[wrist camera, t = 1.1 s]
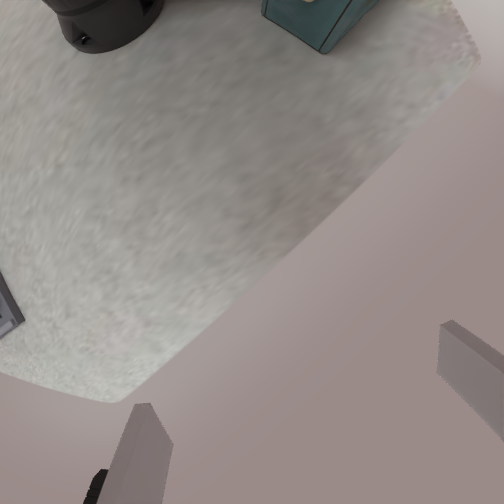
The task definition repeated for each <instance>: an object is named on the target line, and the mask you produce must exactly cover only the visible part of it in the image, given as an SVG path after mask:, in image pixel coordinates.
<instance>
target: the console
mask: <svg viewBox="0 0 504 504" xmlns="http://www.w3.org/2000/svg"><path fill="white" fill-rule="evenodd" d="M23 321H25V319H24V317H23V315H22V314H21V312H20V310H19V308H18V307H17V305H16V303H15V301H14V299H13V297H12V295H11V293H10V291H9V289H8V287H7V285H6V283H5V281H4V279H3V277H2V275H1V273H0V338H1V337H2V336H4V335H5V334H6V333H8V332H9V331H11V330H12V329H13V328H15V327H16V326H18V325H19V324H20V323H22V322H23Z"/></svg>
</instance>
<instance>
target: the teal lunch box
mask: <svg viewBox="0 0 504 504" xmlns="http://www.w3.org/2000/svg"><path fill="white" fill-rule="evenodd" d="M378 1H379V0H263V2H262V8H261V13H262V15H263V16H266V17H267V18H268V19H270V20H272V21H273V22H275V23H277V24H278V25H280V26H282V27H283V28H285V29H286V30H288V31H290V32H291V33H293V34H294V35H296V36H297V37H299V38H300V39H302V40H303V41H305V42H306V43H308V44H309V45H311V46H312V47H313V48H315V49H316V50H318V51H319V52H321V53H327V52H329V51H330V50H331V49H332V48H333V47H334V45H335V44H336V43H337V42H338V41H339V40H340V39H341V38H342V37H343V36H344V35H345V34H346V33H347V32H348V31H349V30H350V29H351V28H352V27H353V26H354V25H355V24H356V22H357V21H358V20H359V19H360V18H361V17H362V16H363V15H364V14H365V13H366V12H367V11H368V10H369V9H370V8H371V7H372V6H373V5H375V4H376V3H377V2H378ZM342 12H343V13H342ZM333 26H334V27H333ZM326 37H327V38H326ZM321 45H322V46H321Z"/></svg>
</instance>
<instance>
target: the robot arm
mask: <svg viewBox="0 0 504 504" xmlns="http://www.w3.org/2000/svg"><path fill="white" fill-rule="evenodd" d="M42 1H43V2H44V3H46V4H47V5H48V6H49V7H50V8H51V9H52V10H53V11H54V12H55V13H56V14H57V17H58V20H59V23H60V26H61V29H62V33H63V35H64V37H65V39H66V40H67V41H68V42H69V43H70V44H71V45H72V46H73V47H75V48H76V49H77V50H79V51H82V52H85V53H102V52H107V51H110V50H113V49H116V48H118V47H121V46H123V45H125V44H127V43H129V42H130V41H132V40H133V39H135V38H136V37H138V36H139V35H140V34H142V33H143V32H144V31H145V30H146V29H147V28H148V27H149V26H150V25H151V24H152V23H153V21H154V20H155V19H156V17H157V16H158V14H159V12H160V10H161V8H162V5H163V0H42ZM439 336H440V337H439V352H438V364H437V373H438V374H439V375H440V376H441V377H442V378H443V379H444V380H445V381H446V382H447V383H448V384H449V385H450V386H451V387H452V388H453V389H454V390H455V391H456V392H457V393H458V394H459V395H460V396H461V397H462V398H463V399H464V400H465V401H466V402H467V403H468V404H469V405H470V407H472V408H473V409H474V411H475V412H476V413H477V414H478V415H479V416H480V417H481V418H482V419H483V420H484V421H485V422H486V423H487V424H488V425H489V426H490V427H491V428H492V430H493V431H494V432H495V433H496V434H497V435H498V436H499V437H500V438H501V439H502V440H503V441H504V355H502V354H501V353H500V352H498V351H497V350H495V349H494V348H492V347H491V346H490V345H488V344H487V343H485V342H484V341H483V340H481V339H480V338H478V337H477V336H475V335H474V334H472V333H471V332H470V331H468V330H467V329H465V328H464V327H462V326H461V325H459V324H458V323H456V322H455V321H453V320H450V321H448V322H446V323H444V324H442V325H440V335H439ZM172 448H173V443H172V441H171V439H170V437H169V436H168V434H167V432H166V431H165V429H164V427H163V426H162V424H161V422H160V420H159V418H158V417H157V415H156V413H155V411H154V409H153V407H152V406H151V404H150V403H143V404H135V405H134V407H133V410H132V412H131V415H130V417H129V420H128V422H127V424H126V427H125V429H124V432H123V434H122V437H121V440H120V442H119V445H118V447H117V450H116V452H115V455H114V458H113V460H112V463H111V465H110V468H109V470H106V469H101V470H100V471H99V472H98V473H97V474H96V475H95V476H94V478H93V480H92V482H91V485H90V487H89V488H90V490H88V492H87V497H86V498H85V500H84V502H83V504H162V501H163V495H164V490H165V484H166V479H167V474H168V468H169V463H170V458H171V453H172Z"/></svg>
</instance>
